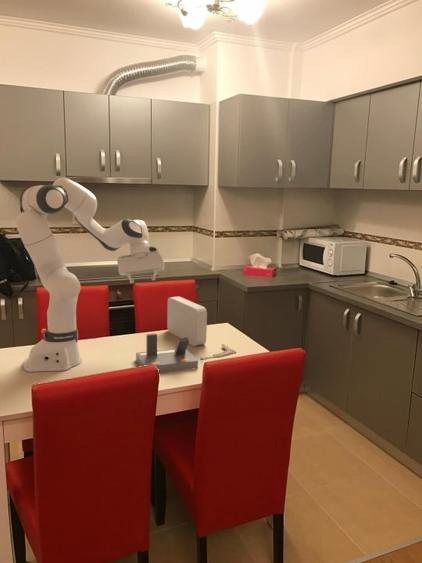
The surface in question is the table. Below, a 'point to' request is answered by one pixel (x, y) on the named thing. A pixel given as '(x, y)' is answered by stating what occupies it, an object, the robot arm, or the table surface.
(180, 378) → the table surface
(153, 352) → the lever
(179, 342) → the lever
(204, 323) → the light grey rounded box
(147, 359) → the breaker panel
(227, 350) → the jawbone
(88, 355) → the table surface
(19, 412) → the table surface
